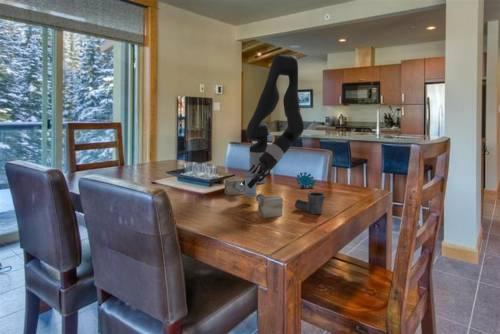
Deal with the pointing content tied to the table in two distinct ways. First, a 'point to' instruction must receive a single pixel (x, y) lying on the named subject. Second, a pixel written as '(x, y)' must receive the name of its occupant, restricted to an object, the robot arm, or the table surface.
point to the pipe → (312, 203)
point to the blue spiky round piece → (305, 180)
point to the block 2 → (270, 206)
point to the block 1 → (229, 186)
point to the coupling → (248, 177)
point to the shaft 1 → (238, 187)
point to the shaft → (259, 196)
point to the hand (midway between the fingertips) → (246, 185)
